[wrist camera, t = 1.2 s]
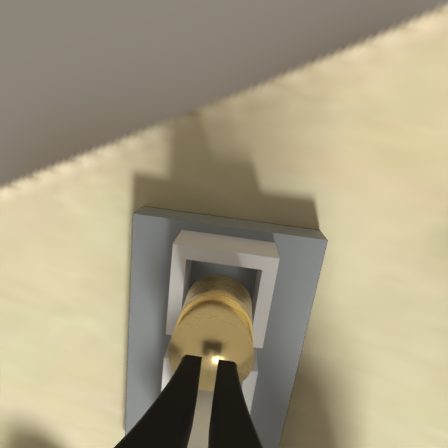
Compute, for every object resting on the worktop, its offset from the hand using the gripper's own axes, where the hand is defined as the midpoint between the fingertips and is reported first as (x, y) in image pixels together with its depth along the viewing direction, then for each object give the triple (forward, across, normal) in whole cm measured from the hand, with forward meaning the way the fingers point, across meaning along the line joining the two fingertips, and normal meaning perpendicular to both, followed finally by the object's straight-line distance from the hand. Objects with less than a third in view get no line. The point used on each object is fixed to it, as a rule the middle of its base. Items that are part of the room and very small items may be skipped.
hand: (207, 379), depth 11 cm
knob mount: (+10, 0, +8) cm, 13 cm away
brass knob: (+5, 0, 0) cm, 5 cm away
